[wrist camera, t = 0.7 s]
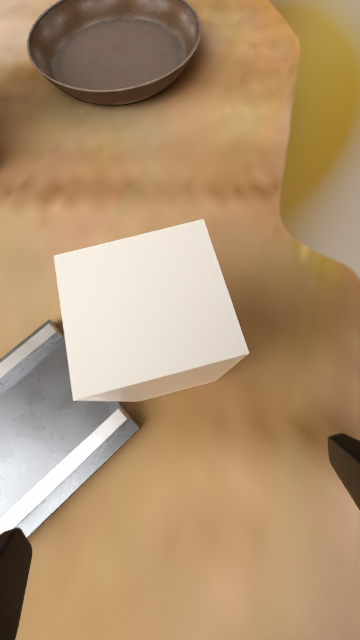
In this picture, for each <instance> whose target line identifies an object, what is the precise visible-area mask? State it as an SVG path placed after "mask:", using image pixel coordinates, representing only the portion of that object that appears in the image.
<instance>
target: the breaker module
mask: <svg viewBox="0 0 360 640" xmlns="http://www.w3.org/2000/svg"><path fill="white" fill-rule="evenodd" d="M54 261H55V269H56V276H57V284H58V291H59V299H60V306H61V314H62V321H63V329H64V336H65V344H66V351H67V359H68V366H69V374H70V381H71V388H72V396H73V401H127V402H140V401H144V400H148V399H151V398H155V397H159V396H163V395H166V394H170V393H174V392H177V391H181V390H185V389H188V388H192V387H196V386H199V385H203V384H207V383H210V382H214V381H217V380H218V379H219V378H220V377H222V376H223V375H224V374H225V373H226V372H228V371H229V370H230V369H231V368H232V367H234V366H235V365H236V364H237V363H238V362H240V361H241V360H242V359H243V358H244V357H246V356H247V355H248V354H249V351H248V348H247V345H246V342H245V339H244V336H243V333H242V330H241V327H240V325H239V322H238V319H237V316H236V313H235V310H234V307H233V304H232V301H231V298H230V295H229V292H228V290H227V287H226V284H225V281H224V278H223V275H222V272H221V269H220V266H219V263H218V260H217V257H216V255H215V252H214V249H213V246H212V243H211V240H210V237H209V234H208V231H207V228H206V225H205V222H204V220H203V219H202V220H198V221H194V222H190V223H185V224H181V225H177V226H173V227H169V228H165V229H161V230H157V231H153V232H149V233H145V234H141V235H137V236H133V237H128V238H124V239H120V240H116V241H112V242H108V243H104V244H100V245H96V246H92V247H88V248H84V249H80V250H76V251H71V252H67V253H63V254H59V255H55V256H54Z"/></svg>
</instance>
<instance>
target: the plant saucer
mask: <svg viewBox="0 0 360 640" xmlns="http://www.w3.org/2000/svg"><path fill="white" fill-rule="evenodd" d="M200 37H201V23H200V20H199V17H198V15H197V13H196V11H195V10H194V9H193V7H192V6H191V5H190V4H189V3H188V2H187V1H185V0H60V1H58V2H56V3H55V4H53V5H52V6H50V7H49V8H48V9H47V10H45V11H44V12H43V13H42V14H41V15H40V16H39V18H38V19H37V20H36V21H35V23H34V24H33V26H32V28H31V30H30V32H29V36H28V40H27V50H28V55H29V58H30V60H31V62H32V64H33V65H34V67H35V68H36V69H37V70H38V71H39V72H40V73H41V74H42V75H43V76H44V77H45V78H46V79H47V80H49V81H50V82H51V83H52V84H54V85H55V86H57V87H58V88H59V89H61V90H63V91H64V92H66V93H68V94H70V95H72V96H74V97H76V98H78V99H81V100H84V101H87V102H90V103H95V104H102V105H120V104H128V103H133V102H137V101H140V100H144V99H146V98H149V97H151V96H153V95H155V94H157V93H159V92H160V91H162V90H163V89H165V88H166V87H168V86H169V85H170V84H171V83H172V82H173V81H174V80H175V79H176V78H177V77H178V76H179V75H180V74H181V73H182V72H183V70H184V69H185V68H186V66H187V65H188V63H189V62H190V60H191V58H192V57H193V55H194V53H195V51H196V48H197V46H198V44H199V41H200Z"/></svg>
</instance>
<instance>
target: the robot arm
mask: <svg viewBox="0 0 360 640" xmlns="http://www.w3.org/2000/svg"><path fill="white" fill-rule="evenodd" d="M328 452H329V460H330V463H331V465H332V467H333V468H334V470H335V472H336V473H337V475H338V476H339V478H340V480H341V481H342V483H343V484H344V486H345V487H346V489H347V491H348V492H349V494H350V495H351V497H352V499H353V500H354V502H355V503H356V505H357V507H358V508H359V510H360V441H359V440H357V439H354V438H352V437H350V436H348V435H346V434H343V433H338V434H335V435H331V436H329V437H328ZM31 559H32V547H31V544H30V543H29V541H28V539H27V538H26V536H25V534H24V533H23V531H22V530H21V529H20V528H18V527H16V528H13V529H9V530H6V531H4V532H2V533H1V534H0V640H15V638H16V634H17V630H18V626H19V621H20V616H21V611H22V606H23V600H24V595H25V590H26V585H27V580H28V574H29V569H30V564H31Z"/></svg>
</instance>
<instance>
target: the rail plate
mask: <svg viewBox="0 0 360 640" xmlns="http://www.w3.org/2000/svg"><path fill="white" fill-rule="evenodd" d="M140 428H141V426H140V425H139V424H138V423H137V421H136V420H135V419H134V418H133V417H132V415H131V414H130V413H129V412H128V411H127V409H126V408H125V407H124V406H123V405H122V403H121V402H120V401H73V396H72V388H71V381H70V374H69V366H68V359H67V351H66V344H65V336H64V333H63V332H62V331H61V329H60V328H59V327H58V326H57V325H56V323H55V322H53V321H51V320H50V319H49V320H48V321H47V322H46V323H44V324H43V325H42V326H41V327H39V328H38V329H37V330H36V331H34V332H33V333H32V334H31V335H29V336H28V337H27V338H26V339H25V340H23V341H22V342H21V343H20V344H18V345H17V346H16V347H15V348H13V349H12V350H11V351H10V352H9V353H7V354H6V355H5V356H4V357H2V358H1V359H0V534H1V533H2V532H4V531H6V530H9V529H13V528H16V527H18V528H20V529H21V530H22V531H23V533H24V534H25V536H26V538H28V537H29V536H30V535H31V534H32V533H33V532H34V531H35V530H36V529H37V528H38V527H39V526H40V525H41V524H42V523H43V522H44V521H45V520H46V519H47V518H48V517H49V516H50V515H51V514H52V513H53V512H55V511H56V510H57V509H58V508H59V507H60V506H61V505H62V504H63V503H64V502H65V501H66V500H67V499H68V498H69V497H70V496H71V495H72V494H73V493H74V492H75V491H76V490H77V489H78V488H79V487H80V486H81V485H82V484H83V483H84V482H85V481H87V480H88V479H89V478H90V477H91V476H92V475H93V474H94V473H95V472H96V471H97V470H98V469H99V468H100V467H101V466H102V465H103V464H104V463H105V462H106V461H107V460H108V459H109V458H110V457H111V456H112V455H113V454H114V453H115V452H116V451H117V450H118V449H120V448H121V447H122V446H123V445H124V444H125V443H126V442H127V441H128V440H129V439H130V438H131V437H132V436H133V435H134V434H135V433H136V432H137V431H138V430H139V429H140Z"/></svg>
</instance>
